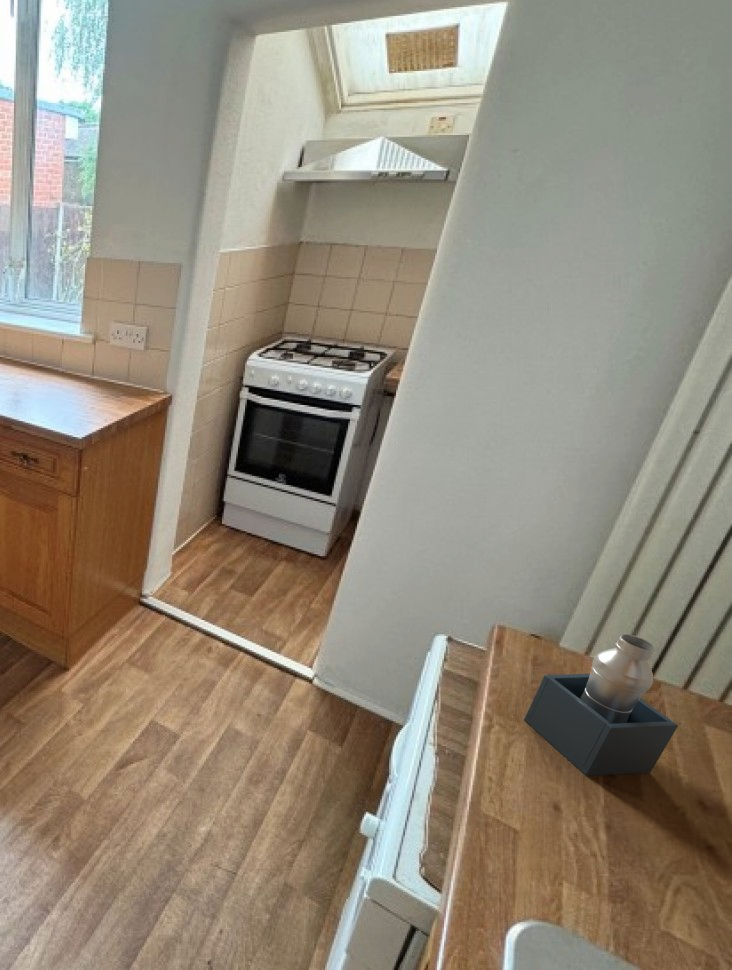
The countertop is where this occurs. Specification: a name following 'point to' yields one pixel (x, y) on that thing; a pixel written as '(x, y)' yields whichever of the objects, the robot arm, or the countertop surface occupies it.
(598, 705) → the plastic bottle
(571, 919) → the countertop surface
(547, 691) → the bin
